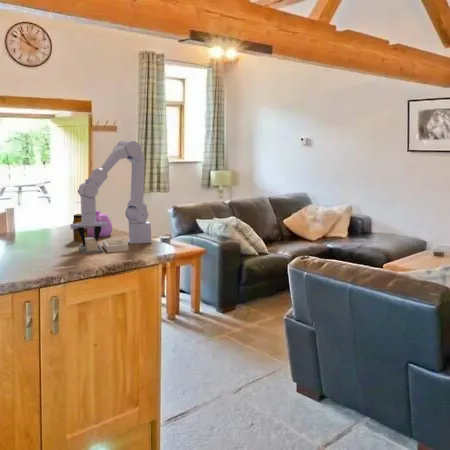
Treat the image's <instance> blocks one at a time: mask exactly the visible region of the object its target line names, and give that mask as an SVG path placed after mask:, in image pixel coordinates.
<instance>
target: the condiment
mask: <svg viewBox="0 0 450 450" xmlns="http://www.w3.org/2000/svg"><path fill="white" fill-rule="evenodd" d="M76 223H82V216H81V213H77V214H73V221H72V224H76ZM85 227H87V226H85ZM72 230H73V231H72V235H73V242H77V243H78V242H79V243H81V242H82V239H81V236H80V234H79V232H78V230H77V229H72ZM84 231H85V238H89V237H88V233H87V228H84ZM82 243H83V242H82Z"/></svg>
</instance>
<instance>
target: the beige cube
mask: <svg viewBox="0 0 450 450" xmlns="http://www.w3.org/2000/svg"><path fill="white" fill-rule="evenodd" d="M98 244H99V242H98V241H96V240H91V241H86V251H97V250H98Z"/></svg>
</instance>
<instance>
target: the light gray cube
mask: <svg viewBox="0 0 450 450" xmlns="http://www.w3.org/2000/svg"><path fill="white" fill-rule="evenodd" d="M91 240H95V238H94V237H88V238H85V246H84V247H85V249H86V241H91Z"/></svg>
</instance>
